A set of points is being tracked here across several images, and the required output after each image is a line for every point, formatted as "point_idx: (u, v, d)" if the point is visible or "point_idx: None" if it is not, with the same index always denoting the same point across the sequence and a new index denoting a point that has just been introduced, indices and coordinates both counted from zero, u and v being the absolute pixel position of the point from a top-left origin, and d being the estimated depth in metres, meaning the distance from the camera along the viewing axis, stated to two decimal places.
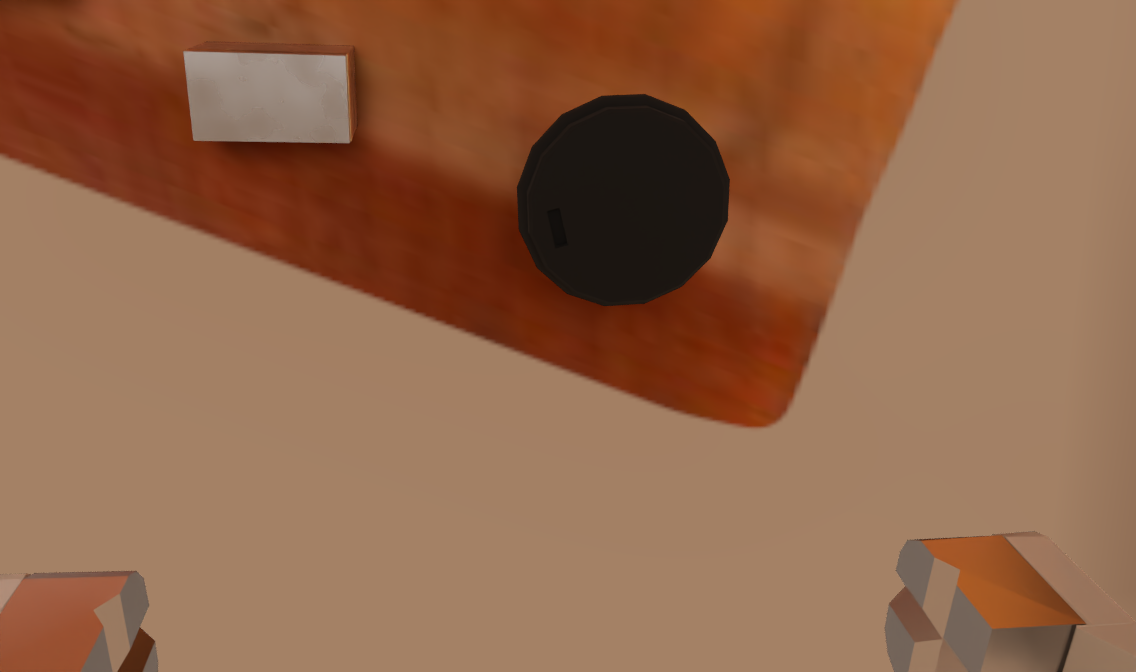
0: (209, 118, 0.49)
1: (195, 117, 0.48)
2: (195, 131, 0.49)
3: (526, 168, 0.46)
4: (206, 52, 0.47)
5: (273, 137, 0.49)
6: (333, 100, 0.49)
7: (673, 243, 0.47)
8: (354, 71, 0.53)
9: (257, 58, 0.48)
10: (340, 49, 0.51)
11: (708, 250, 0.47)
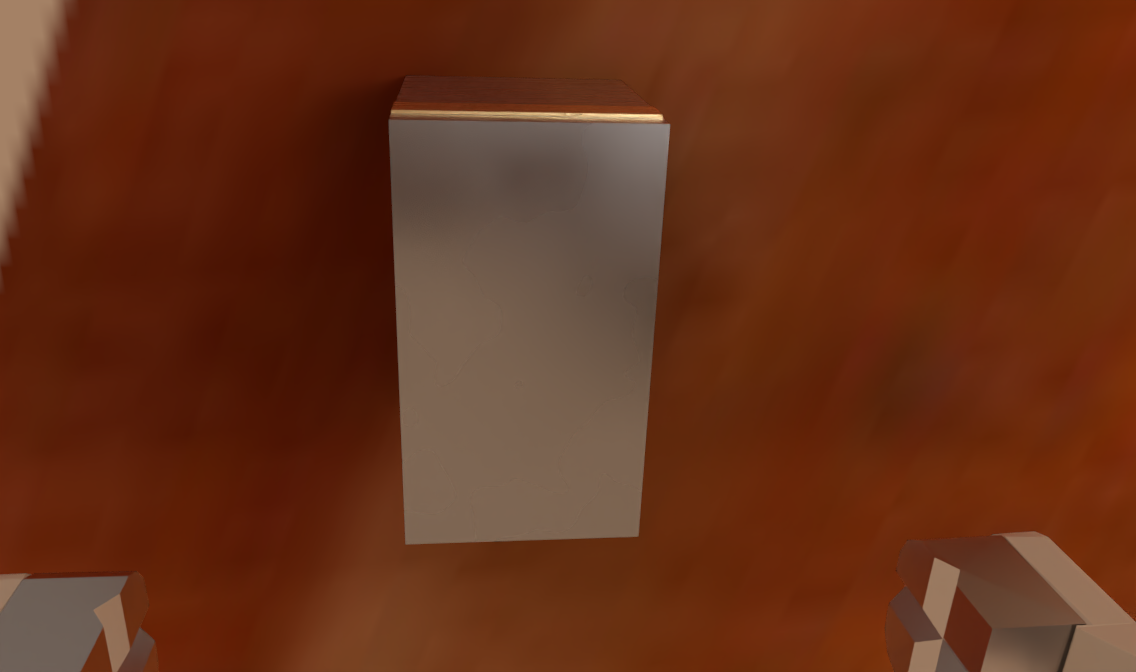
0: (463, 178, 0.15)
1: (465, 135, 0.15)
2: (419, 129, 0.15)
3: None
4: (662, 190, 0.16)
5: (411, 356, 0.16)
6: (522, 508, 0.18)
7: None
8: None
9: (640, 328, 0.17)
10: None
11: None
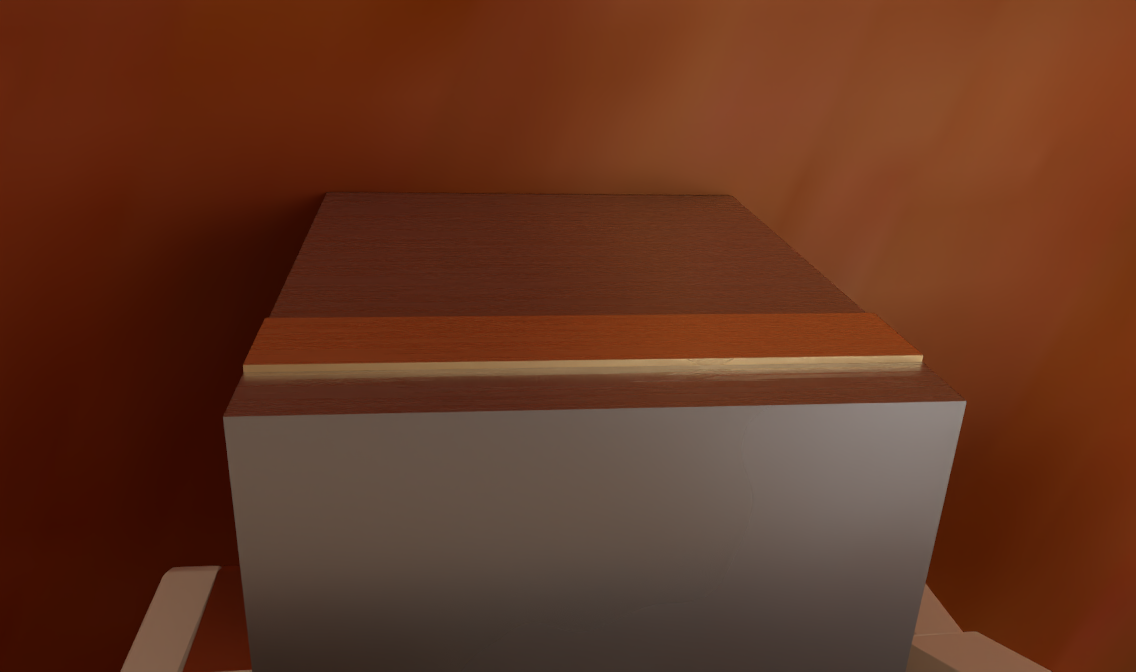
0: (433, 544, 0.06)
1: (438, 447, 0.06)
2: (312, 438, 0.05)
3: None
4: (925, 543, 0.06)
5: None
6: None
7: None
8: None
9: None
10: None
11: None
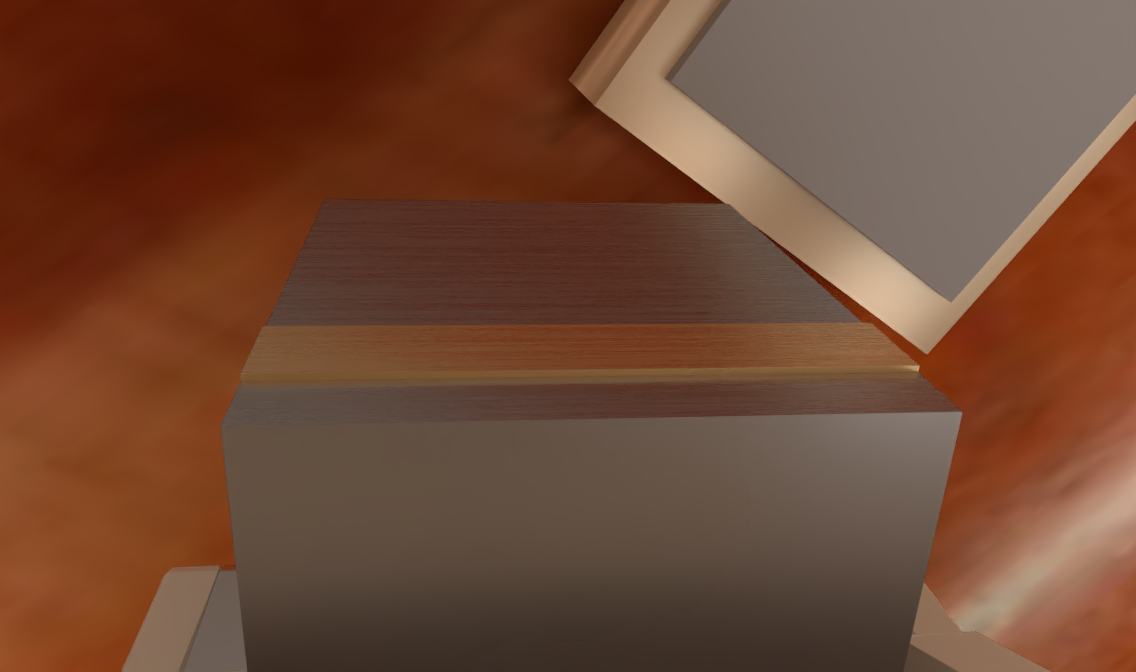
0: (430, 554, 0.06)
1: (435, 457, 0.06)
2: (309, 448, 0.05)
3: None
4: (921, 553, 0.06)
5: None
6: None
7: None
8: None
9: None
10: None
11: None
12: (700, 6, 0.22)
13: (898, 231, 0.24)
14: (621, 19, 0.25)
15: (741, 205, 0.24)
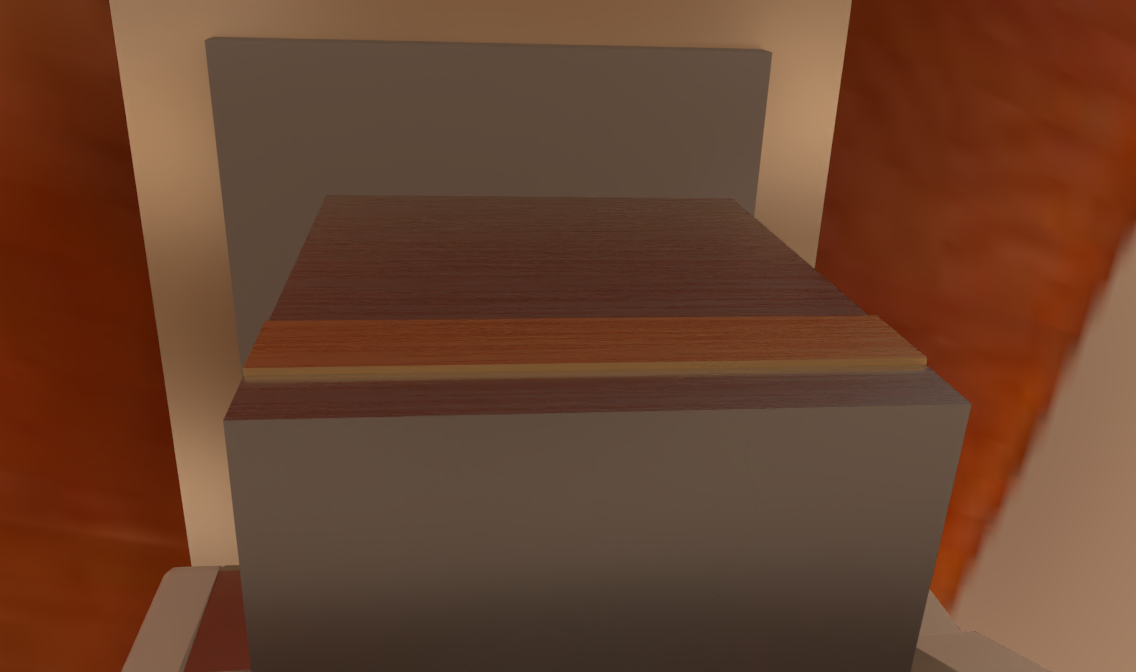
0: (435, 548, 0.06)
1: (440, 451, 0.05)
2: (313, 442, 0.05)
3: None
4: (930, 547, 0.06)
5: None
6: None
7: None
8: None
9: None
10: None
11: None
12: (325, 17, 0.15)
13: None
14: None
15: (157, 256, 0.16)
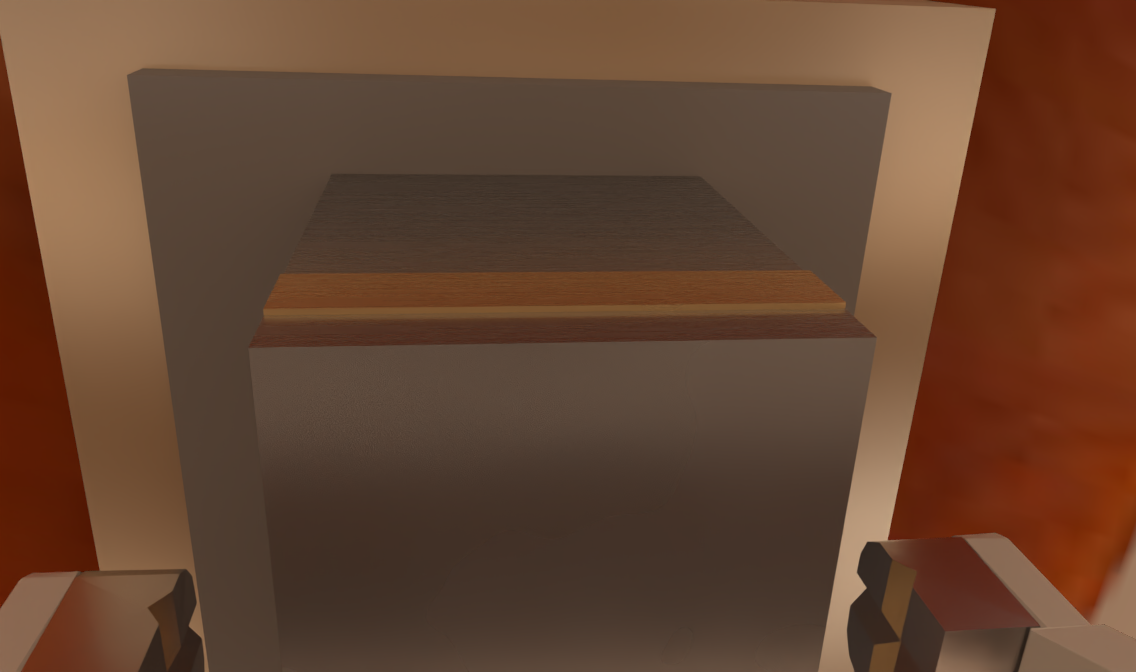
0: (424, 460, 0.07)
1: (428, 375, 0.07)
2: (322, 367, 0.06)
3: None
4: (848, 463, 0.07)
5: None
6: None
7: None
8: None
9: None
10: None
11: None
12: (296, 43, 0.11)
13: (242, 604, 0.13)
14: None
15: (75, 353, 0.12)
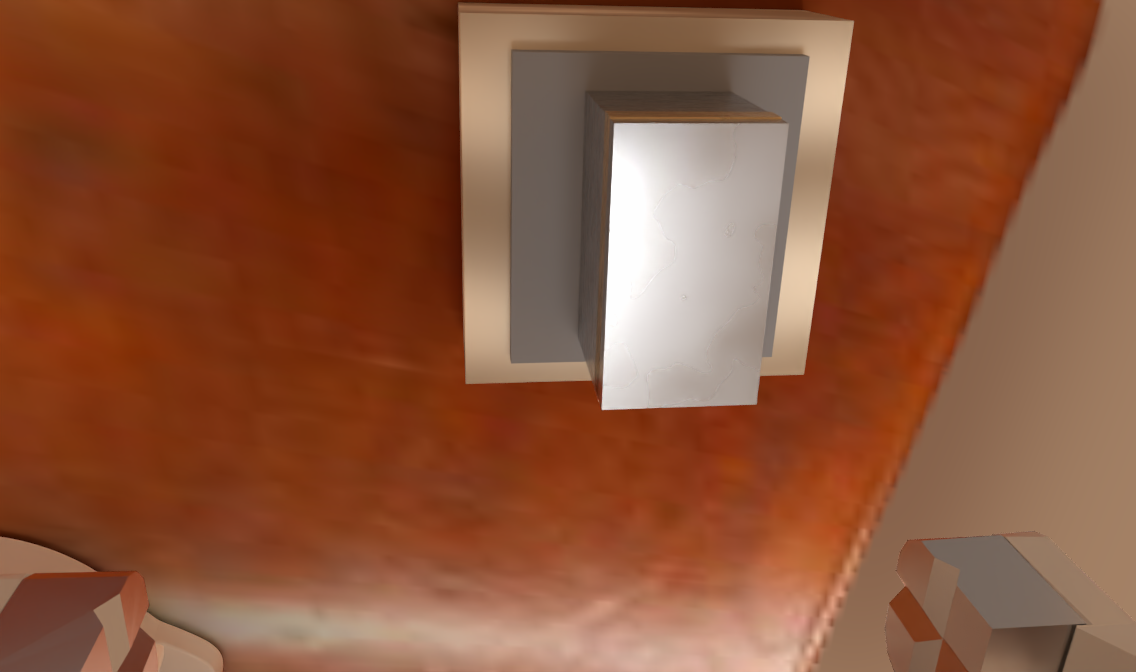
0: (657, 159, 0.24)
1: (661, 132, 0.23)
2: (633, 129, 0.23)
3: None
4: (782, 166, 0.24)
5: (616, 278, 0.25)
6: (680, 384, 0.26)
7: None
8: None
9: (764, 258, 0.25)
10: None
11: None
12: (570, 38, 0.28)
13: (529, 287, 0.30)
14: (523, 6, 0.30)
15: (468, 170, 0.29)
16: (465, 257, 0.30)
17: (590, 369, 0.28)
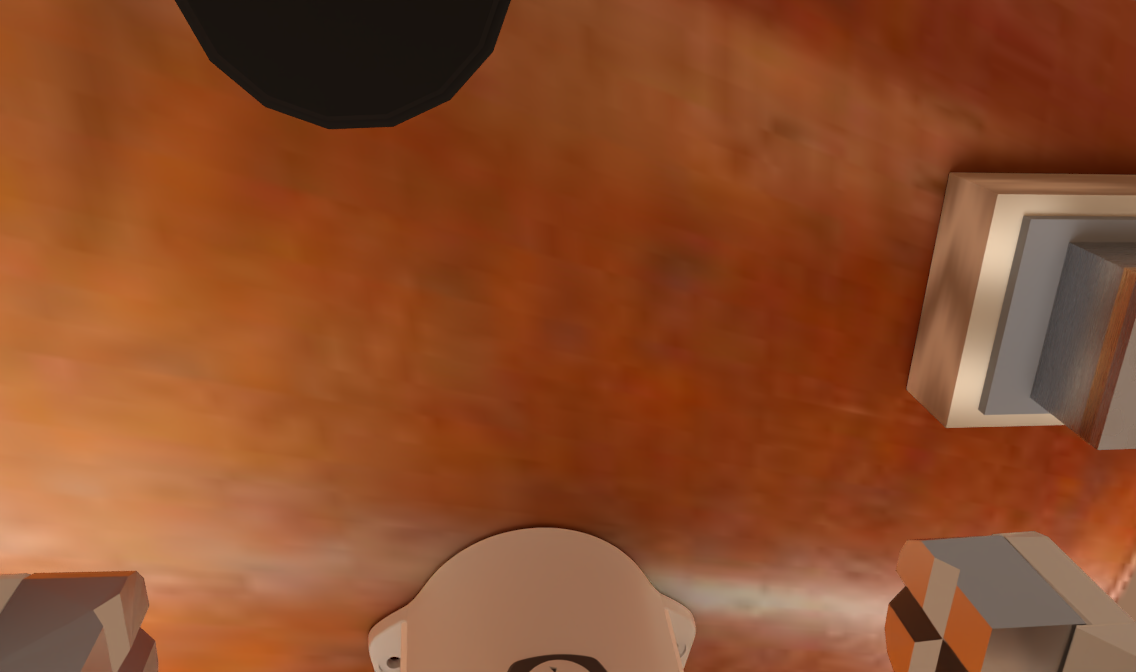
0: None
1: None
2: None
3: (502, 22, 0.31)
4: None
5: (1125, 369, 0.40)
6: None
7: None
8: None
9: None
10: None
11: None
12: (1060, 209, 0.43)
13: (1007, 365, 0.45)
14: (1001, 178, 0.46)
15: (980, 290, 0.44)
16: (965, 345, 0.45)
17: (1066, 422, 0.43)
